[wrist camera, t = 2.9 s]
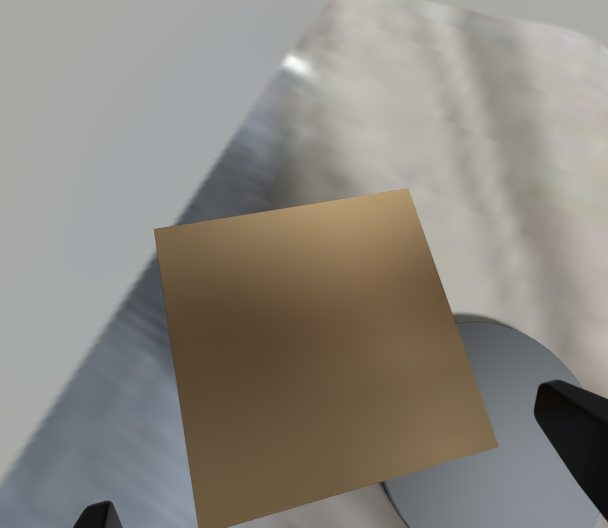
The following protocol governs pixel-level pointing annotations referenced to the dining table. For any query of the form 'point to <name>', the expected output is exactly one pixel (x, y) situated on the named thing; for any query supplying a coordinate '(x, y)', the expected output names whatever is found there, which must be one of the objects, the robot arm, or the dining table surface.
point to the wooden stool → (313, 355)
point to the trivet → (500, 449)
